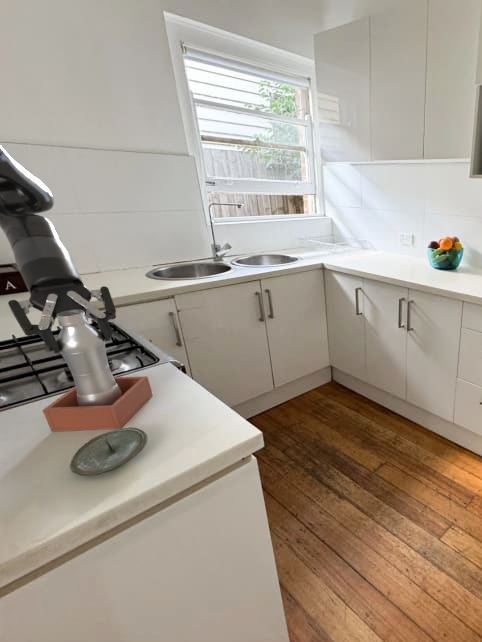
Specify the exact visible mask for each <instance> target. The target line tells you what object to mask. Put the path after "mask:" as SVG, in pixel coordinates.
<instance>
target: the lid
mask: <svg viewBox="0 0 482 642" xmlns="http://www.w3.org/2000/svg"><path fill="white" fill-rule="evenodd" d="M147 443H148V434H147V433H146V432H145V431H144V430H143V429H141V428H138V427H122V428H119V429H113V430H111V431H107V432H105V433H102V434H99V435H97V436H95V437H93V438H91V439H89V440H88V441H87V442H85V443H84V444H83V445H81V447H80V448H78V449H77V451H76V452H75V453H74V455H73V456H72V459H71V460H70V464H69V468H70V471H71V472H72V473H74V474H76V475H78V476H83V477H84V476H86V477H87V476H98V475H101V474H103V473H107V472H111V471H113V470H115V469H118V468H119V467H122V466H123V465H125V464H127V463H128V462H130V461H131V460H132V459H134V458H135V457H136V456H138V454H139V453H141V452H142V451H143V449H144V448H145V446H147Z"/></svg>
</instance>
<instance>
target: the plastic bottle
mask: <svg viewBox="0 0 482 642" xmlns="http://www.w3.org/2000/svg"><path fill="white" fill-rule="evenodd" d="M56 319H57V321H58V323H57V324H58V326H59V327H61V330H60V332H59V333H58V336H57V337H56V342H57V344H58V346H59V349H60V352H59V353H60V354H61V356H62V358H63V359H64V361H65V363H66V364H67V367H68V370H69V371H70V373H71V375H72V378H73V382H74V387H76V391H77V401H78V405H79V407H82V406H108V405H111V406H112V405H113V404H114V403H115V402H116V401H117V400H118V399H119V398H120V397H121V396H122V391H121V390H120V388H119V386H118V384H117V383H116V382H115V379H114V375H113V373H112V370H111V368H110V364H109V360H108V356H107V349H106V341H105V340H104V336H103V335H102V333H101V331H100V329H98V328H96V327H95V326H93V325H91V324H89V323H88V321H89V318H88V317H86V315H85V312H84V311H83V310H68V311H63V312H60V313H58V314H57V318H56Z"/></svg>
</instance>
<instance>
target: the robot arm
mask: <svg viewBox="0 0 482 642" xmlns="http://www.w3.org/2000/svg"><path fill="white" fill-rule="evenodd" d="M54 205H55V199H54V195H53V192H52V191H51V190H50V188H49V187H48V186H47V185H46V184H45V183H44V181H42V180H41V179H40V178H39V177H37V176H36V175H35V174H33V172H31V171H30V170H28V169H27V168H25V167H24V166H23V165H21V163H19V162H18V161H17V160H16V159H15V158H14V157H12V156H11V155H10V154H9V153H8V152H7V150H6V149H5V148H4V147H3V146H2V144H0V229H1V230H2V232H3V233H4V235H5V237H6V240H7V242H8V244H9V246H10V248H11V250H12V253H13V258H14V261H15V263H16V266H17V269H18V273H20V275H21V277H22V279H23V281H24V283H25V286H26V288H27V290H28V292H29V299H26V300H22V301H18V300H16V299H11V300H9V301H8V306H9V307H8V308H9V309H10V311H11V313H12V315H13V316H14V319H15V320H16V321H17V324H18V325H19V327H20V328H21V330H22V332H23V333H24V335H25V336H28V337H32V336H40V337H41V338H42V340H43V343H44V346H45V347H46V349H47V350H48V351H49V352H52V351H53V352H54V353H55V354H58V353H60V349H59V346H58V344H57V339H56V338H55V335H54V333H53V331H52V328H53V326H54V325H55V322H56V319H57V314H58V313H60V312H63V311H68V310H83V311H84V312H85V315H86V317H87V318H88V319H91V320H93V321H94V322H96V323H97V327H98V330H99V331H100V332H101V333H102V335H103V336H104V340H105V342H110V341H111V338H113V330H112V327H111V325H110V323H109V321H110V320H115V319H116V318H117V315H116V314H117V310H116V307H115V304H114V301H113V298H112V295H111V292H110V290H109V287H107V286H105V285H104V286H101V287H100V289H90V288H88V287H87V286H85V284H84V282H83V280H82V278H81V276H80V274H79V271H78V269H77V267H76V265H75V262H74V261H73V259H72V257H71V255H70V253H69V252H68V249H66V247H65V245H64V244H63V242H62V239H61V237H60V236H59V233H58V231H57V228H56V227H55V225H54V224H53V223H52V221H51V220H49V219H48V218H46V217H44V216H43V215H40V214H42V213H45V212H48V211H51V210H52V208H53V207H54ZM92 298H94V299H96V300H97V301H98V302H102V303H103V307H104V311H102V310H100V309H98V308H97V307H96V306H95V305H94V304H93V303H91V302H90V301H91V300H92ZM30 308H33V309H36V310H37V311H40V312H41V316H40V319H39V322H38V324H32V323H31V321H30V319H29V318H28V316H27V315H28V314H29V313H30Z"/></svg>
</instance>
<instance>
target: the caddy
mask: <svg viewBox="0 0 482 642" xmlns="http://www.w3.org/2000/svg"><path fill="white" fill-rule="evenodd" d="M113 377H114V376H113ZM114 379H115V382H116V383H117V384H118V386H119V388H120V390H121V391H122V396H121V397H120V398H119V399H118V400H117V401H116V402H115V403H114V404H113V405H112V406H111V405H108V406H82V407H79V405H78V401H77V391H76V387H75V386H72V388H71V389H69V390H68V391H67V392H65V393H64V394H63V395H61V396H60V397H59V398H57V399H55V401H53V402H52V403H50V404H49V405H47V406H46V407H44V408H43V409H42V413H43V415H44V417H45V420H46V423H47V424H48V426H49V429H50V432H71V431H73V432H74V431H91V430H92V431H93V430H94V431H95V430H116V429H121V428H124V426H125V425H126V424H127V423H128V422H129V421H130V419H132V418H133V417H134V416H135V415H136V414H137V412H139V410H141V409H142V407H143V406H144V405H145V404H146V403H147V402H148V401H149V400H150V399H151V398H152V397H153V395H154V393H153V391H152V388H151V385H150V381H149V377H148V376H146V375H144V376H115V377H114Z"/></svg>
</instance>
